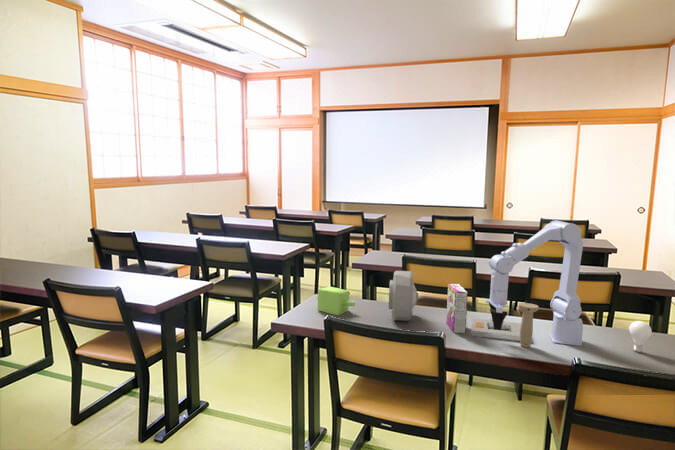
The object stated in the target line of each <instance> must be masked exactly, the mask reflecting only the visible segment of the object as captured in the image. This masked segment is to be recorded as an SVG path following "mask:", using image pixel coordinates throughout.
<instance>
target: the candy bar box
mask: <svg viewBox="0 0 675 450" xmlns="http://www.w3.org/2000/svg"><path fill="white" fill-rule="evenodd" d="M468 297H469V296H468V291H467V290H466V289H465V288H464V287H463V286H462V285H461V284H460V283H447V298H446V299H447V303H446V322H445V323H446V324H447V326H448V327H449V329H450V330H451V332H453V334H466V330H467V316H468V315H467V313H468V312H467V311H468Z"/></svg>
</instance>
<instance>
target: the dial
mask: <svg viewBox="0 0 675 450" xmlns="http://www.w3.org/2000/svg"><path fill="white" fill-rule="evenodd" d="M418 300H419V292H417V288H416V286H415V284H414V273H413V272H412V271H410V270H409V271H408V270H407V271H406V270H395V271H394V272H393V279H389V288H388V310H391V318H392V320H395V321H404V322H410V321H411V320H412V319H413V318H412V317H413V316H412V315H413V309H414V307H415V305H416V303H417V301H418Z"/></svg>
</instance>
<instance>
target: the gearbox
mask: <svg viewBox="0 0 675 450" xmlns="http://www.w3.org/2000/svg"><path fill="white" fill-rule="evenodd" d="M316 300H317V311H319V312H323V313H327V314H330V315H335V316H340V315H342V314H344V313H346V312H348V311H349V307H355V305H356V302H355V300H350V290H348V289H342V288H338V287H333V286H326V287H322V288H320V289H318V294H317V295H316Z"/></svg>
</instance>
